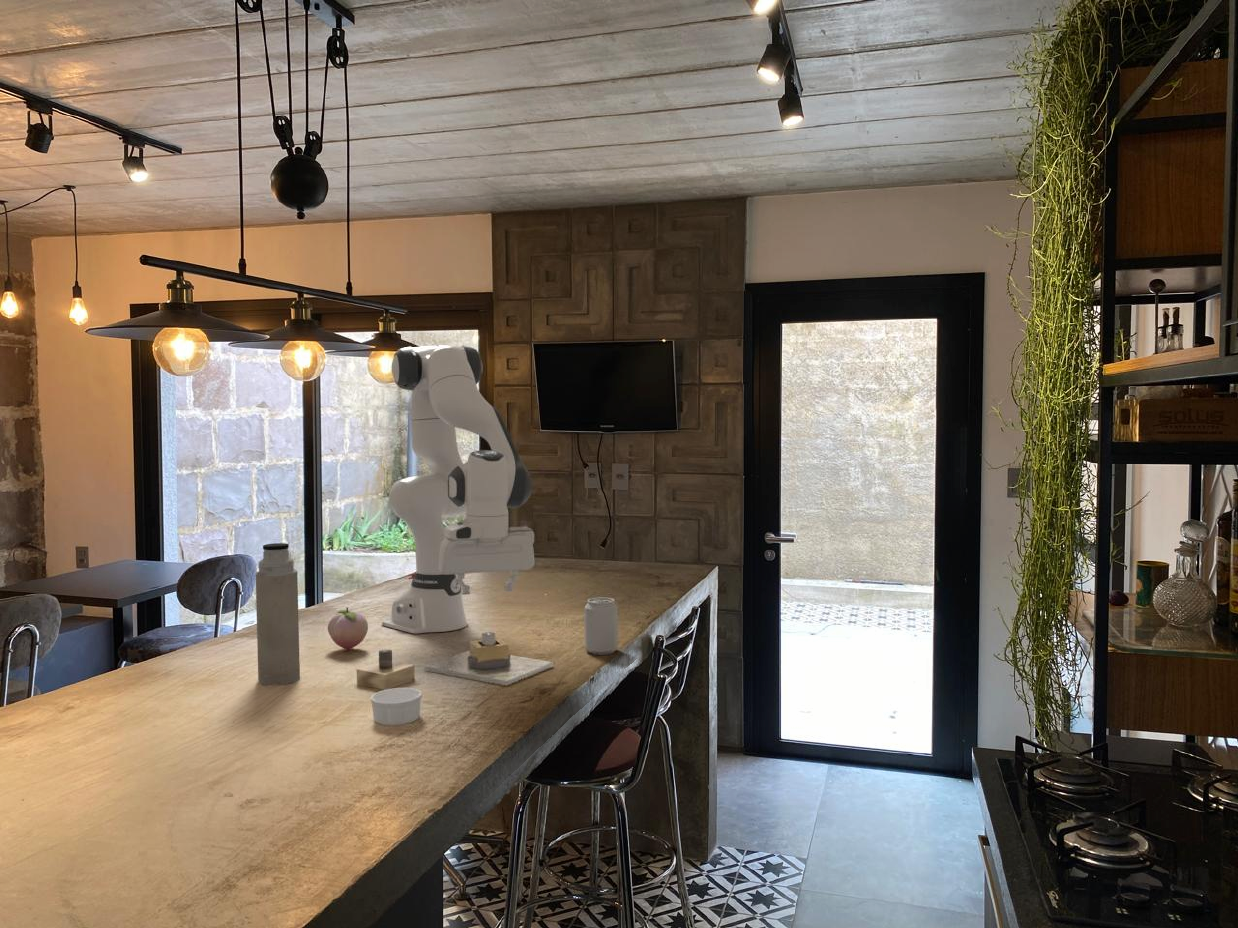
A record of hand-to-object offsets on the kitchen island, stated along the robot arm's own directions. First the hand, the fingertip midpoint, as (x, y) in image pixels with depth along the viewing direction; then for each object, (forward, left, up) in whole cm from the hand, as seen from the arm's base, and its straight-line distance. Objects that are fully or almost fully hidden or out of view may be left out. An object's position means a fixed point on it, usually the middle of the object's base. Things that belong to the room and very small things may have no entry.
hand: (487, 592), depth 191 cm
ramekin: (+6, -33, -17) cm, 38 cm away
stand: (-12, -18, -16) cm, 27 cm away
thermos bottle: (-32, -28, -17) cm, 45 cm away
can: (+14, +24, -17) cm, 32 cm away
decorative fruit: (-38, -4, -17) cm, 41 cm away
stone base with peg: (0, 0, -16) cm, 16 cm away
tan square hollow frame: (0, 0, -14) cm, 14 cm away
